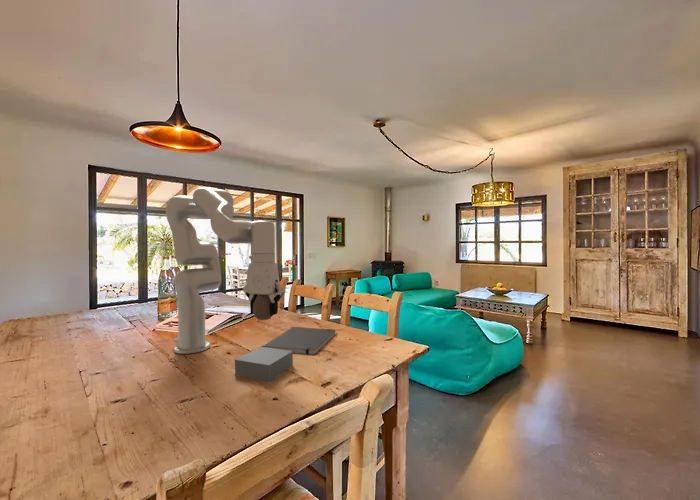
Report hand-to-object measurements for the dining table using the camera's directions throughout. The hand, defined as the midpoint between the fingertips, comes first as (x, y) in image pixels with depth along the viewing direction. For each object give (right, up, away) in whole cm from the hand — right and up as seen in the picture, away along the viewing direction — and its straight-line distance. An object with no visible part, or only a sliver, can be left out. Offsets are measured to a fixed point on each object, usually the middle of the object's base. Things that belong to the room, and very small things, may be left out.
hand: (264, 313), depth 103 cm
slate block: (0, -19, +1) cm, 19 cm away
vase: (0, -2, 0) cm, 2 cm away
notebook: (+8, -19, +31) cm, 37 cm away
